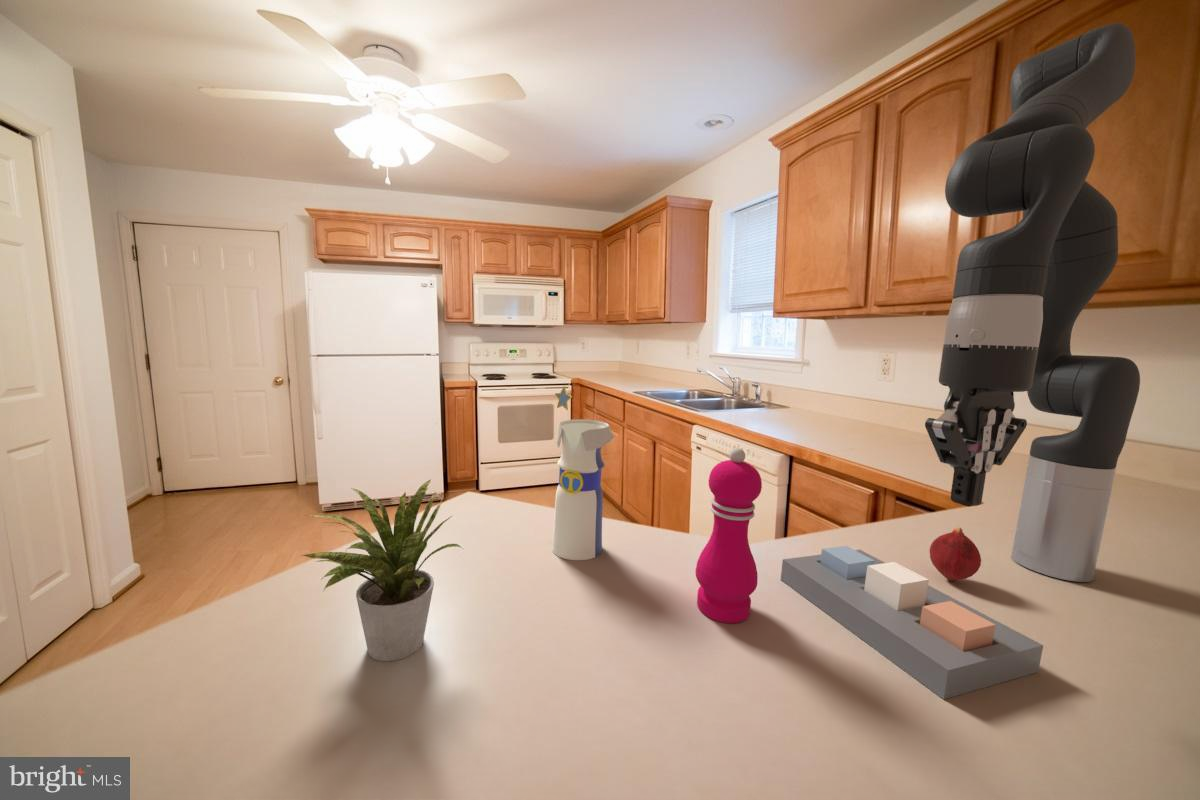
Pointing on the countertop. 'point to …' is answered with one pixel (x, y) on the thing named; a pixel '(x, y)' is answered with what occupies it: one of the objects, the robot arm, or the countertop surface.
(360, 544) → the house plant
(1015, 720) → the countertop surface
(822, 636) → the countertop surface
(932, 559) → the onion
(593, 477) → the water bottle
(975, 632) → the terracotta key
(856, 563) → the blue key
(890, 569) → the white key
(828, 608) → the board
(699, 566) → the pepper mill
